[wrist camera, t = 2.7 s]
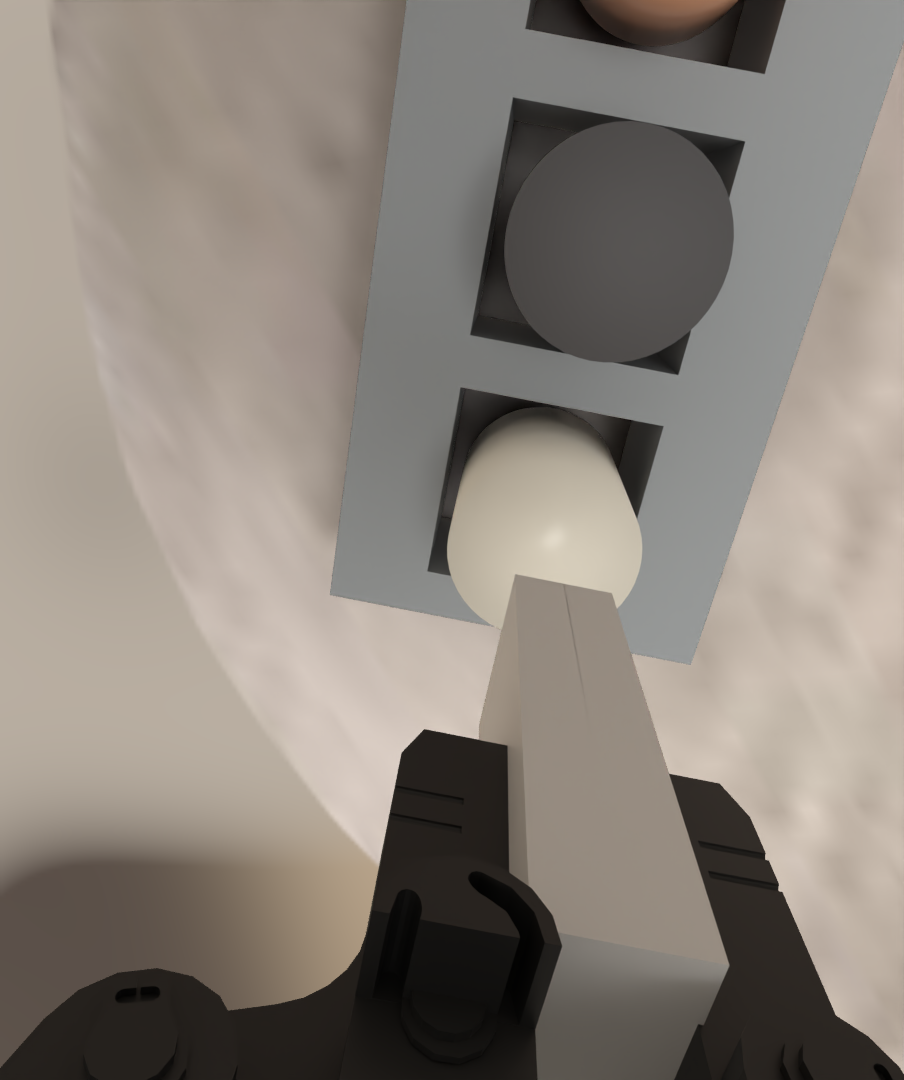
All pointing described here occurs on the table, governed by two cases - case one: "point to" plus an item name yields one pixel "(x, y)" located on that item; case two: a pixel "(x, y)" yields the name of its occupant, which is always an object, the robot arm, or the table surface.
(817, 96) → the panel
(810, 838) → the table surface
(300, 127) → the table surface
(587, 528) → the button ivory
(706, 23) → the button terracotta
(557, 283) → the button black
